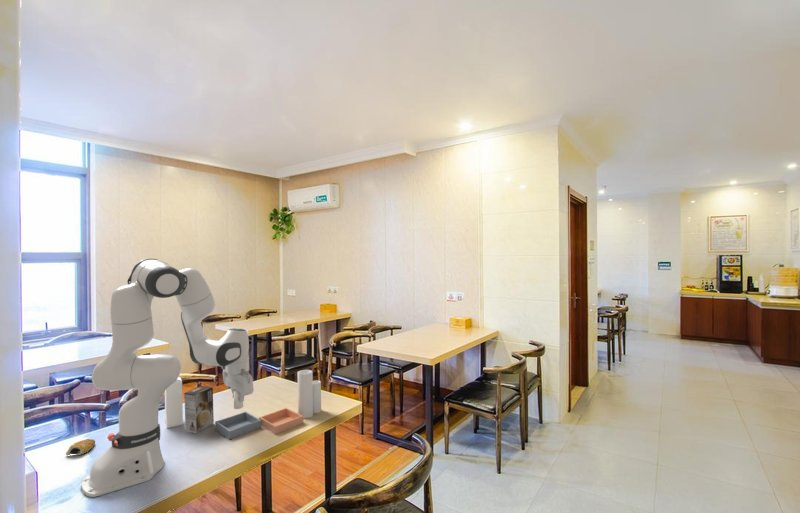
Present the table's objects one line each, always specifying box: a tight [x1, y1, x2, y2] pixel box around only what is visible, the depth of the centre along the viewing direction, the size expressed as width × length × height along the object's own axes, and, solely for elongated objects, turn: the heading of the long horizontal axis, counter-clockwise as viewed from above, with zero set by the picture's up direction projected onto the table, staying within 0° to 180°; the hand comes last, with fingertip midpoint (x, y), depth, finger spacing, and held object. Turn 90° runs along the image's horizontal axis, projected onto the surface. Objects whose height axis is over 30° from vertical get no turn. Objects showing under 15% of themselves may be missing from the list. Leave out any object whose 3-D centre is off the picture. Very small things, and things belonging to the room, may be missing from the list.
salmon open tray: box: [258, 407, 304, 435], centre depth 164 cm, size 13×13×4 cm
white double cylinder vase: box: [297, 369, 322, 420], centre depth 174 cm, size 11×7×20 cm, turn 151°
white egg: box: [233, 390, 244, 410], centre depth 160 cm, size 4×4×7 cm
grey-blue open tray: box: [214, 411, 262, 441], centre depth 160 cm, size 13×13×4 cm
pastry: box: [65, 438, 96, 456], centre depth 145 cm, size 9×7×4 cm
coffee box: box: [183, 385, 215, 434], centre depth 162 cm, size 9×6×16 cm
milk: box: [164, 376, 184, 429], centre depth 166 cm, size 6×6×22 cm
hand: (238, 399), depth 160 cm, fingers closed on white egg, 4 cm apart
